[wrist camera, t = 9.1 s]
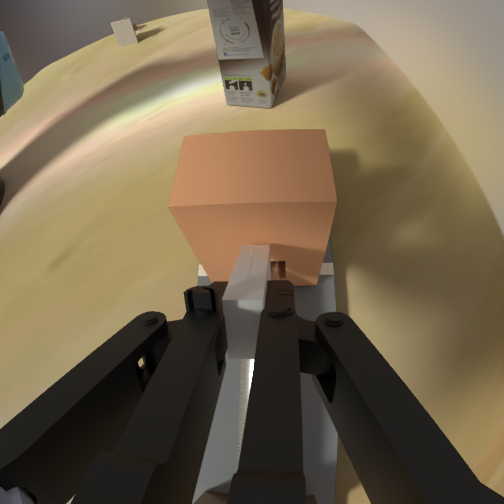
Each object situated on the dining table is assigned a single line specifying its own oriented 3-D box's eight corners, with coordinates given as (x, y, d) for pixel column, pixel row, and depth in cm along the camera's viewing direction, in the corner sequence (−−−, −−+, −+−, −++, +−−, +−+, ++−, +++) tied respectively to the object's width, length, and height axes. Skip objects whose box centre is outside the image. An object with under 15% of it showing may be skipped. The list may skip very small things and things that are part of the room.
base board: (329, 518, 17) (332, 525, 15) (191, 512, 18) (185, 519, 16) (320, 175, 31) (321, 165, 29) (214, 178, 32) (211, 168, 30)
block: (316, 285, 24) (337, 201, 14) (213, 286, 24) (167, 206, 15) (313, 228, 26) (325, 129, 16) (218, 230, 27) (184, 136, 17)
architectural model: (126, 41, 56) (118, 17, 50) (150, 37, 55) (142, 11, 48) (119, 48, 55) (109, 23, 48) (143, 43, 54) (134, 17, 47)
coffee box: (273, 109, 36) (263, -7, 22) (225, 105, 38) (203, -4, 23) (287, 75, 40) (282, -23, 26) (245, 72, 41) (231, -22, 27)
